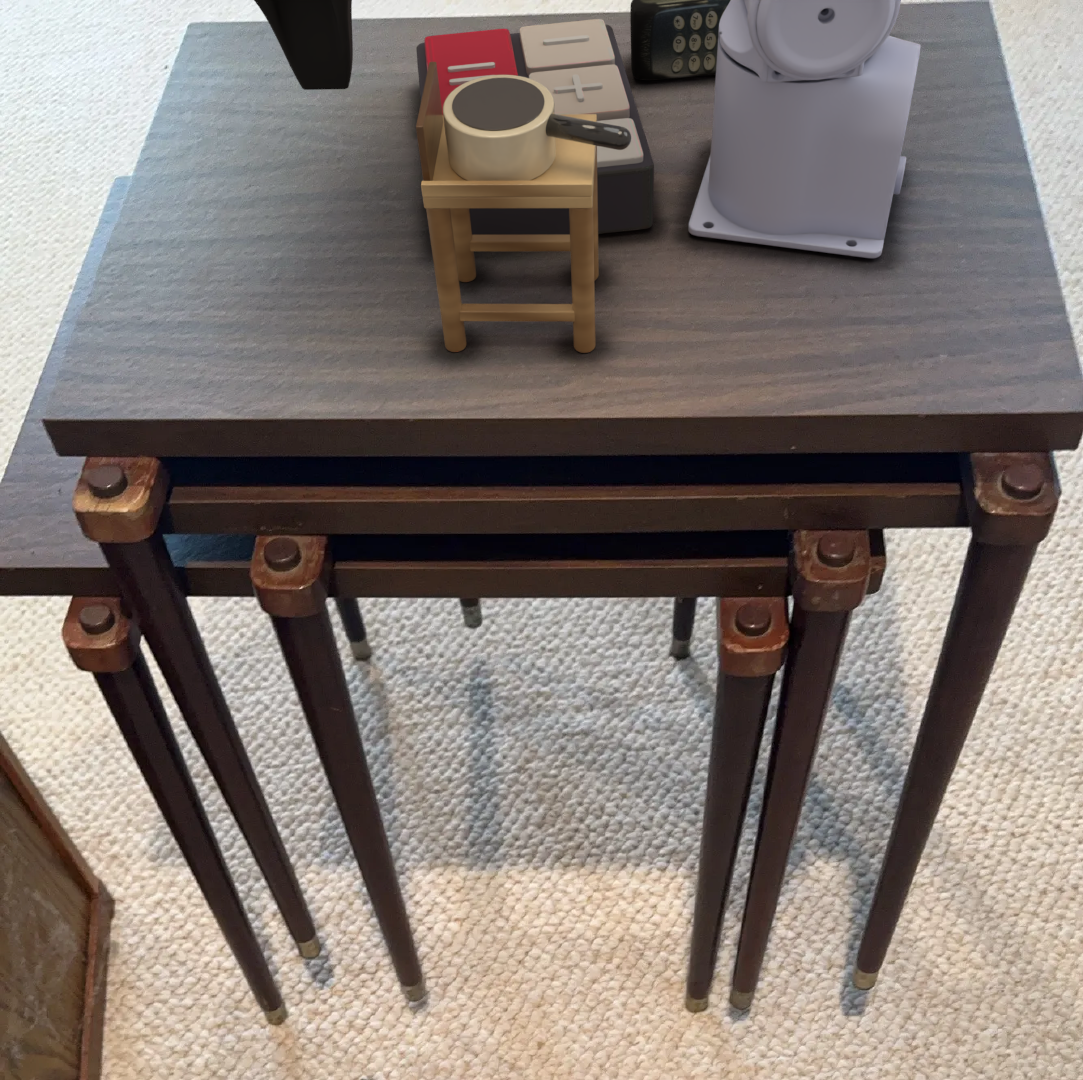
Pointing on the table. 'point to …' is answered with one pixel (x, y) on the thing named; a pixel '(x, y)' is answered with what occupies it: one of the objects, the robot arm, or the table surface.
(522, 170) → the pan
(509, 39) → the calculator
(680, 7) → the mobile phone
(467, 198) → the wooden l-shaped block
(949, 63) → the table surface
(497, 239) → the stand
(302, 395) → the table surface
